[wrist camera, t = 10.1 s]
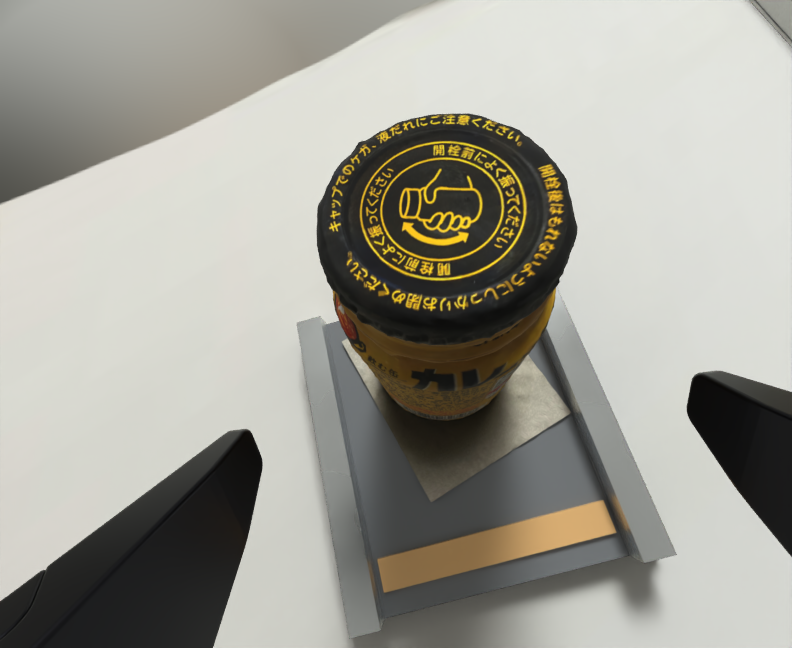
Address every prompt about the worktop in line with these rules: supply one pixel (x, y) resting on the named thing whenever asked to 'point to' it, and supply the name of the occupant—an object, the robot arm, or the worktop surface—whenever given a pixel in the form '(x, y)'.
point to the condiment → (449, 285)
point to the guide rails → (589, 414)
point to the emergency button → (777, 15)
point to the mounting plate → (474, 507)
